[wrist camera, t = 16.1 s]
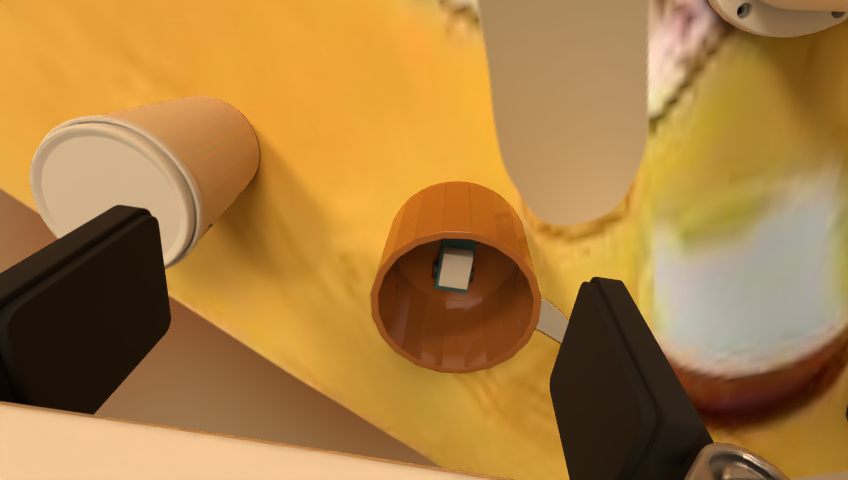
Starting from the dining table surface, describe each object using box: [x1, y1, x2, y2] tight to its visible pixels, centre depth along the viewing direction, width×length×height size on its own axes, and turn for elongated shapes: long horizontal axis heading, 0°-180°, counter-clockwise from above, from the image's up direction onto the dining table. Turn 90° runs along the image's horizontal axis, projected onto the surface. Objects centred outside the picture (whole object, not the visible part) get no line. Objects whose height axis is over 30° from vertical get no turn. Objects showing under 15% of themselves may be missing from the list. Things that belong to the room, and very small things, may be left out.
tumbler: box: [371, 182, 542, 373], centre depth 35 cm, size 11×11×9 cm
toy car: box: [432, 238, 480, 293], centre depth 37 cm, size 6×3×3 cm, turn 173°
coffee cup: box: [30, 96, 260, 269], centre depth 32 cm, size 9×9×12 cm
